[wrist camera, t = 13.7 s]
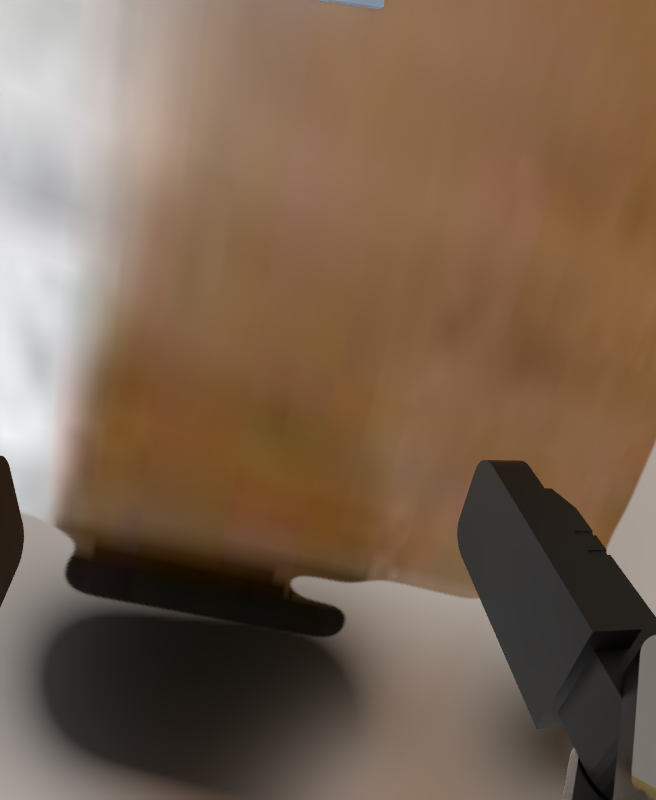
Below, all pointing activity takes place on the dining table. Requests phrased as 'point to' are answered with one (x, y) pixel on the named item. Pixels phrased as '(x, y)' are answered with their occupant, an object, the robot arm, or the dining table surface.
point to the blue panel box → (360, 3)
